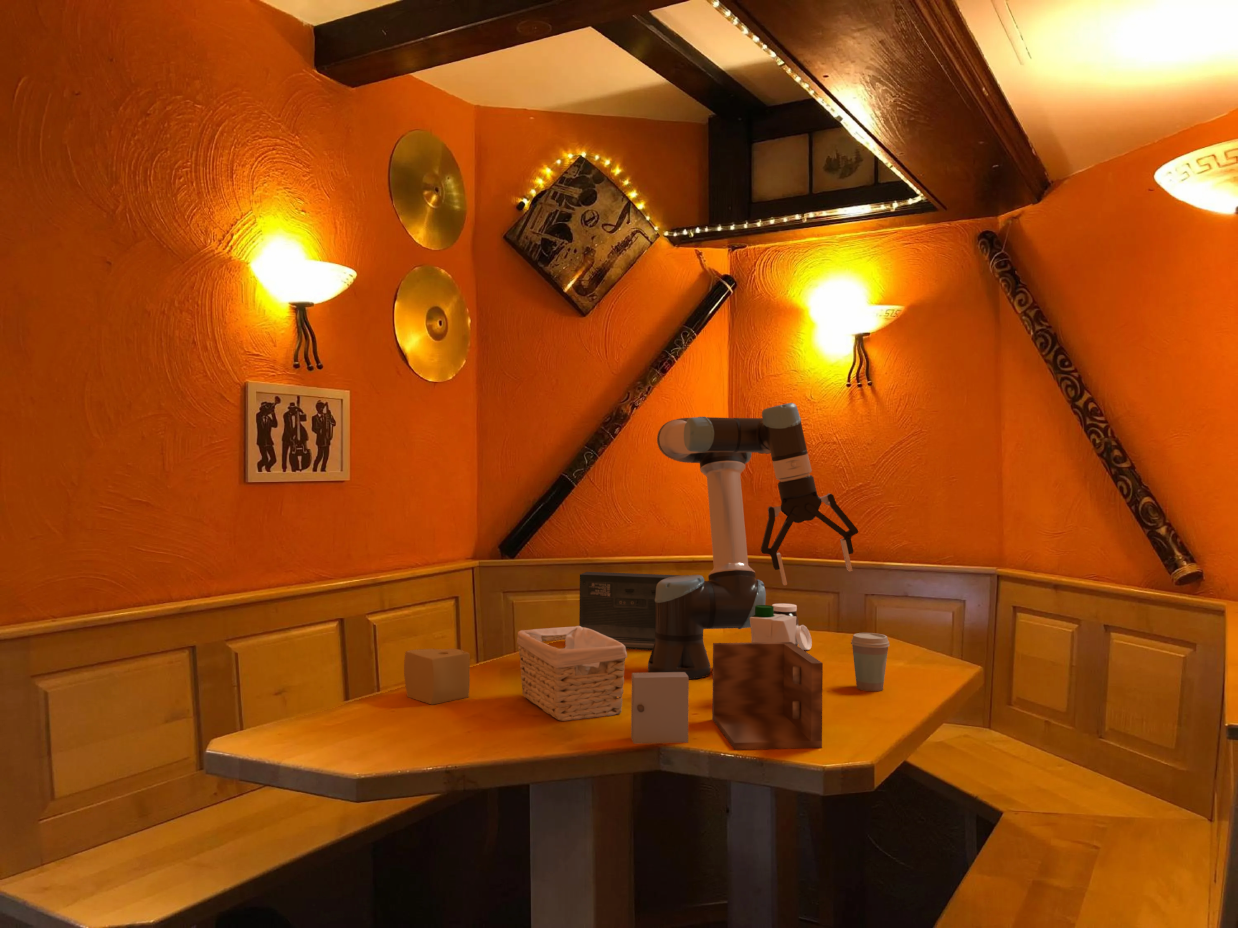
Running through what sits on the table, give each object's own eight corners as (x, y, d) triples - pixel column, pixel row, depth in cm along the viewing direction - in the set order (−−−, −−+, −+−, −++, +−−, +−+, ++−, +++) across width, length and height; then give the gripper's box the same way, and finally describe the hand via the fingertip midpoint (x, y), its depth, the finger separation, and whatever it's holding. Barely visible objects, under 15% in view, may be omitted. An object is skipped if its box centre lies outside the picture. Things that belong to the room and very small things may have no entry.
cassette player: (687, 647, 263) (687, 575, 263) (682, 652, 257) (683, 578, 257) (586, 641, 271) (586, 571, 271) (579, 646, 264) (579, 574, 264)
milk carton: (761, 692, 212) (762, 602, 212) (800, 698, 207) (801, 606, 207) (745, 700, 204) (745, 607, 204) (784, 706, 200) (785, 611, 199)
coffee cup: (890, 693, 212) (891, 639, 212) (851, 691, 214) (851, 638, 214) (887, 684, 220) (888, 633, 220) (849, 682, 222) (850, 631, 222)
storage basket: (629, 716, 192) (630, 643, 192) (554, 725, 185) (555, 649, 185) (582, 690, 213) (583, 624, 213) (513, 697, 206) (514, 629, 206)
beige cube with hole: (443, 689, 213) (444, 644, 213) (472, 698, 205) (472, 651, 205) (403, 697, 206) (403, 650, 206) (430, 706, 198) (431, 658, 198)
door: (634, 744, 172) (634, 678, 172) (631, 737, 177) (631, 672, 177) (688, 743, 173) (689, 677, 173) (684, 736, 178) (684, 671, 178)
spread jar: (769, 643, 271) (770, 602, 271) (810, 644, 269) (810, 603, 269) (770, 651, 259) (770, 608, 259) (812, 652, 257) (813, 609, 257)
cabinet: (734, 749, 170) (735, 664, 170) (712, 719, 189) (713, 642, 189) (821, 747, 171) (822, 663, 171) (790, 717, 191) (791, 642, 191)
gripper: (736, 491, 195) (759, 592, 195) (857, 464, 193) (880, 566, 193) (735, 489, 203) (757, 587, 203) (851, 464, 201) (873, 562, 201)
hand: (817, 577), depth 198 cm, fingers open, 13 cm apart
